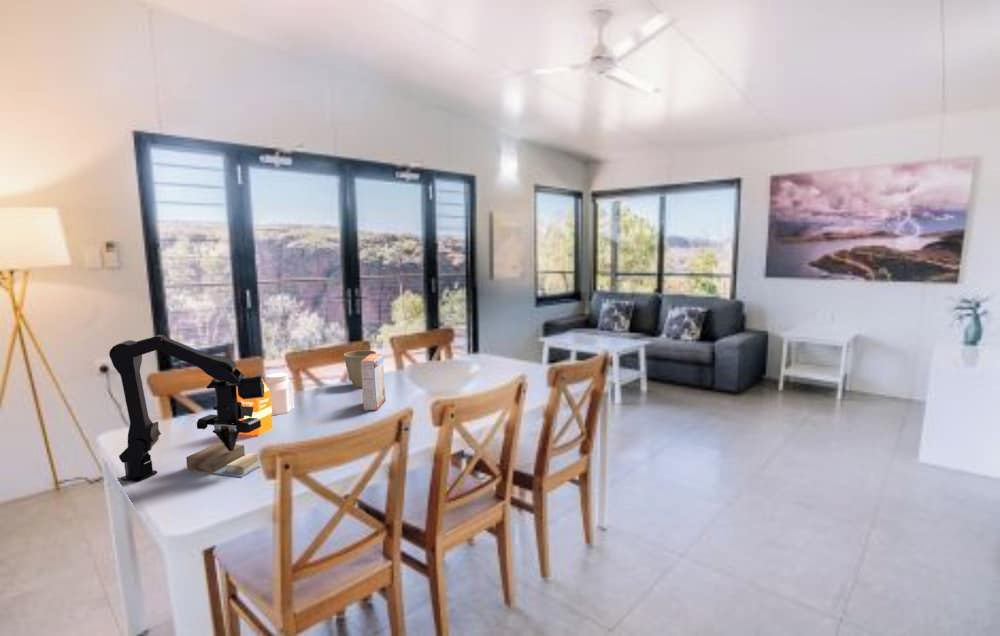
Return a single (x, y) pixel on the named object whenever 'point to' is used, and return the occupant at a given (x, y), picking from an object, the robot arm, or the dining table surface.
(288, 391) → the jar
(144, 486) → the dining table surface
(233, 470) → the beige rectangular block
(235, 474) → the mat
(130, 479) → the robot arm
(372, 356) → the cracker box
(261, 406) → the orange juice
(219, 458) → the brown wooden flat block
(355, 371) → the plant pot
